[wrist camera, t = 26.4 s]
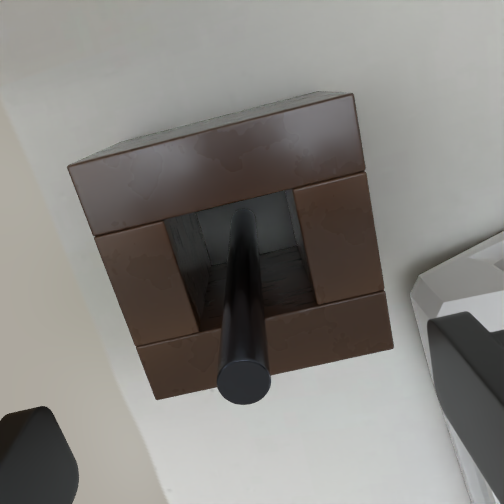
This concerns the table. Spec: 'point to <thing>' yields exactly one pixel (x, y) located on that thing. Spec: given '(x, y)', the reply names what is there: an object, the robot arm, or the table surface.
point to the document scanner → (459, 300)
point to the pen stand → (271, 264)
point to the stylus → (243, 318)
